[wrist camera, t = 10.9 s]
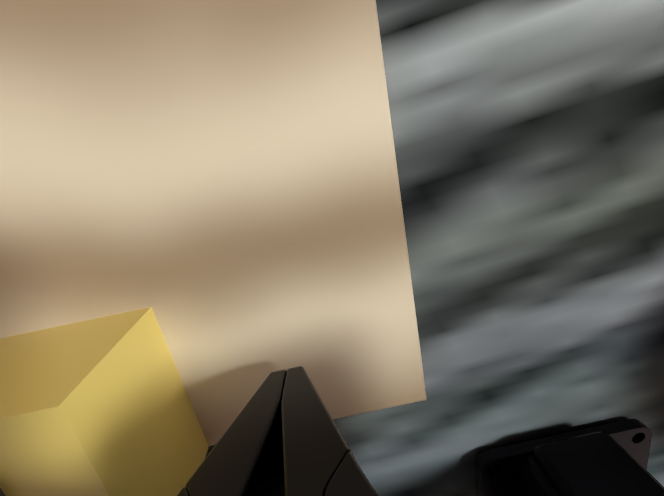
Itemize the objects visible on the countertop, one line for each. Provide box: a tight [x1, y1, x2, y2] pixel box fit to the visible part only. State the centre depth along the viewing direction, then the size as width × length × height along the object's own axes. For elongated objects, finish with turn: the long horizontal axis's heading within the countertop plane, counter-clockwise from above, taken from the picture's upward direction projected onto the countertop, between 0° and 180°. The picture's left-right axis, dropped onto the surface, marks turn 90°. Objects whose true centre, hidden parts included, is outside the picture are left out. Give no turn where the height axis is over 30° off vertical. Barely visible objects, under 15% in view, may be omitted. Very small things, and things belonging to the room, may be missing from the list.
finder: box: [0, 307, 209, 496], centre depth 8 cm, size 5×4×4 cm
